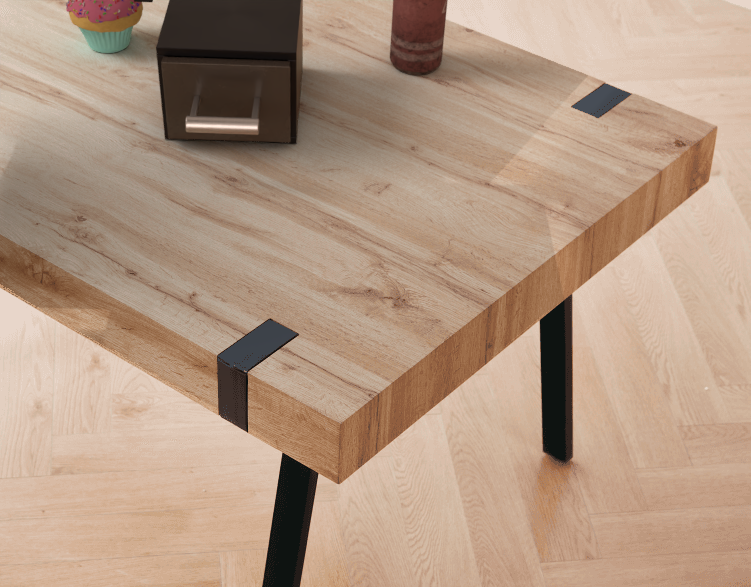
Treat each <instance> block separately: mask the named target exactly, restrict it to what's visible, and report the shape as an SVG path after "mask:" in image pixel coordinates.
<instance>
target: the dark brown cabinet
mask: <svg viewBox="0 0 751 587" xmlns="http://www.w3.org/2000/svg"><path fill="white" fill-rule="evenodd" d="M303 25H304V0H168V3H167V7H166V11H165V13H164V17H163V21H162V25H161V28H160V32H159V35H158V39H157V42H156V45H155V52H156V53H155V54H156V62H157V71H158V73H157V74H158V82H159V83H158V84H159V93H160V104H161V112H162V114H161V115H162V123H163V124H162V125H163V132H164V133H163V134H164V140H173V141H198V142H199V141H201V142H228V143H230V142H231V143H259V144H260V143H261V144H289V145H290V144H291V145H296V144H297V143H298V133H299V132H298V131H299V120H300V107H301V92H302V82H303V80H302V79H303V64H304V57H303V55H304V54H303V53H304V51H303V50H304V48H303V47H304V45H303V44H304V42H303V41H304V40H303V39H304V26H303ZM163 56H165V57H173V56H193V57H220V58H247V59H274V60H288V61H290V71H291V140H290V142H262V141H232V140H203V139H173V138H168V128H167V118H166V107H165V97H164V86H163V76H162V66H161V61H162V58H163Z"/></svg>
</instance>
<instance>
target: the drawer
mask: <svg viewBox="0 0 751 587" xmlns="http://www.w3.org/2000/svg"><path fill="white" fill-rule="evenodd" d="M161 66H162V76H163V86H164V97H165V107H166V118H167V128H168V138H173V139H203V140H232V141H262V142H290V140H291V71H290V61H288V60H274V59H258V60H246V59H219V58H204V57H193V56H173V57H165V56H163V58H162V61H161Z"/></svg>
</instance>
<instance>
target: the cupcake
mask: <svg viewBox="0 0 751 587" xmlns="http://www.w3.org/2000/svg"><path fill="white" fill-rule="evenodd" d="M65 6H66V7H65V8H66V10H65V11H66V12H67V13H68V16H69V19H70V21H71V23H72V24H73V25H74V26H75V27H77V28H78V29H79V30H80V32H81V34H82V35H83V38H84V39H85V41H86V43H87V45H88V47H89V48H90V49H91V50H93V51H95V52H96V53H97V52H98V53H102V54H114V53H118V52H121V51H123V50H125V49H127V48H128V47H129V45H130V43H131V39H132V38H131V37H132V33H133V28H134V26H137V24H139V22H140V20H141V18H142V16H143V10H144V4H143V2H134V0H67V3H65Z"/></svg>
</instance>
